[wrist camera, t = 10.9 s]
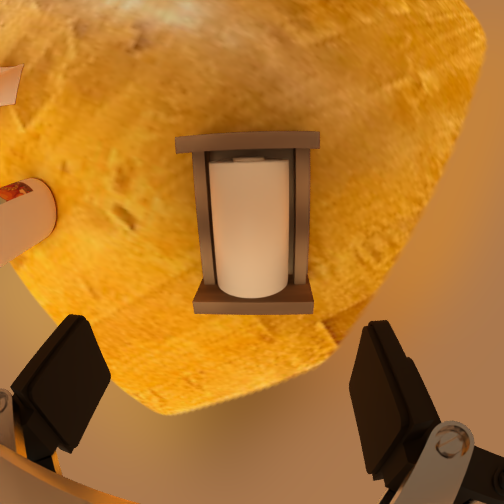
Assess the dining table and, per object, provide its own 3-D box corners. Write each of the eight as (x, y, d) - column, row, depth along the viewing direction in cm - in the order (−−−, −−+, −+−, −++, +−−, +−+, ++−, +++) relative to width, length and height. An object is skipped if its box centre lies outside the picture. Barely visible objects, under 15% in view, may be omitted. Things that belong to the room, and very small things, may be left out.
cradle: (194, 136, 24) (174, 137, 19) (308, 132, 24) (319, 131, 18) (207, 281, 30) (194, 313, 25) (306, 281, 29) (312, 313, 24)
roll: (216, 156, 24) (200, 162, 19) (286, 154, 24) (291, 160, 18) (223, 267, 28) (212, 300, 23) (286, 267, 28) (289, 301, 22)
